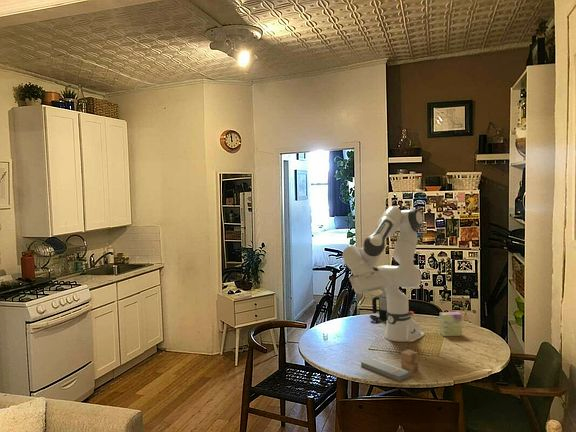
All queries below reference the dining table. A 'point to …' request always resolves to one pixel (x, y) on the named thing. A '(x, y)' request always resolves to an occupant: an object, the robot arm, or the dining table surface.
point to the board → (386, 369)
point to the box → (450, 323)
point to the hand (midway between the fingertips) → (378, 297)
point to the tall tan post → (409, 360)
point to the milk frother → (382, 308)
